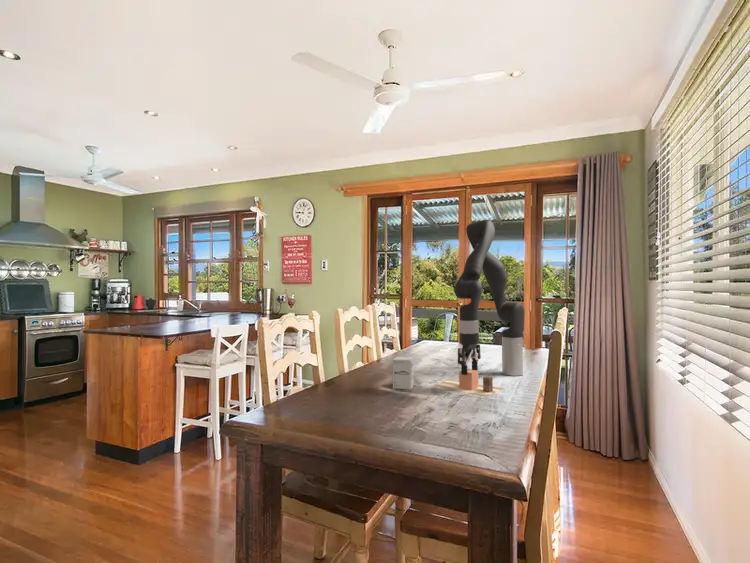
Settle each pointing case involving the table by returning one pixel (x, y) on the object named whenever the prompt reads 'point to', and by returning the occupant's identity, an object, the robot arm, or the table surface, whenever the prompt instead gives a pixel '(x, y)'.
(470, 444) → the table surface
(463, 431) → the table surface
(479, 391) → the board
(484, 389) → the walnut post
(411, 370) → the supplement box
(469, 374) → the salmon orange block
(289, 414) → the table surface
